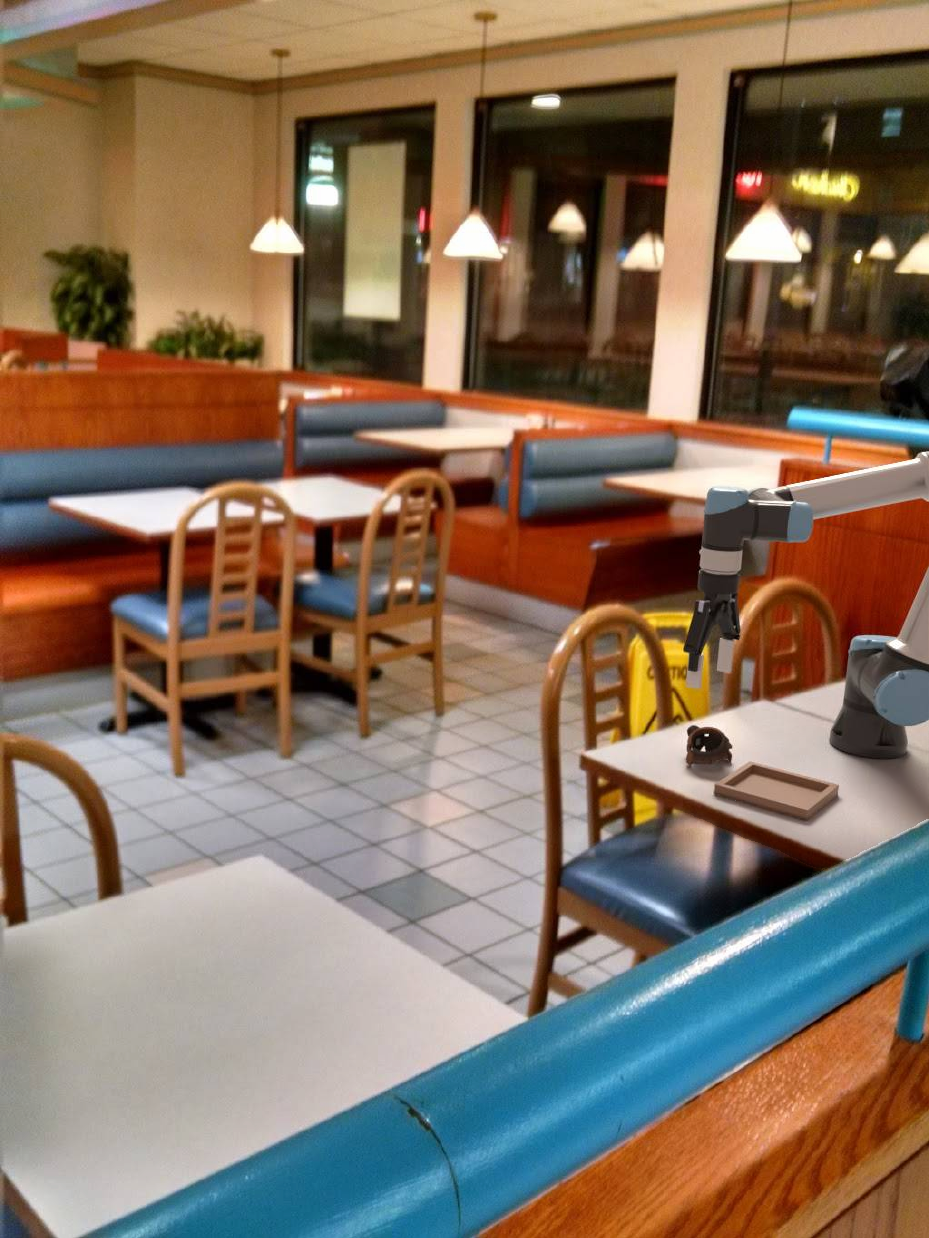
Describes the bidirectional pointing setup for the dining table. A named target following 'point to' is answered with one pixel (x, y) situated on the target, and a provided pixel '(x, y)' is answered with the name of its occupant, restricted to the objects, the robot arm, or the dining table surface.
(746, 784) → the serving tray
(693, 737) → the pottery mug
